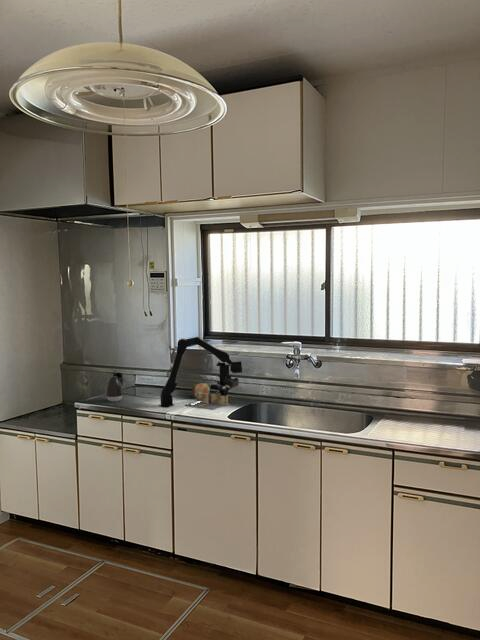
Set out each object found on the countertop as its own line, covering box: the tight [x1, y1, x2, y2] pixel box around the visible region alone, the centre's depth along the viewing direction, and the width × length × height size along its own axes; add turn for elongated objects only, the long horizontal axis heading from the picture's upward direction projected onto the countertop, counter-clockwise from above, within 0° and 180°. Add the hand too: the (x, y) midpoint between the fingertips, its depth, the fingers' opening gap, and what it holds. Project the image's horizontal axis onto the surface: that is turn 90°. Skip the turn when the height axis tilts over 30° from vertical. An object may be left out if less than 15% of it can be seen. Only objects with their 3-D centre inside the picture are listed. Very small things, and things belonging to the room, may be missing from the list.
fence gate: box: [211, 393, 229, 404], centre depth 320 cm, size 11×2×5 cm, turn 56°
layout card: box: [186, 401, 230, 411], centre depth 320 cm, size 20×16×1 cm
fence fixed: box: [196, 392, 212, 403], centre depth 327 cm, size 10×2×5 cm, turn 56°
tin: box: [191, 382, 211, 399], centre depth 343 cm, size 15×3×8 cm, turn 143°
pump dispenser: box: [105, 375, 124, 403], centre depth 334 cm, size 10×10×15 cm
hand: (224, 399), depth 323 cm, fingers closed
